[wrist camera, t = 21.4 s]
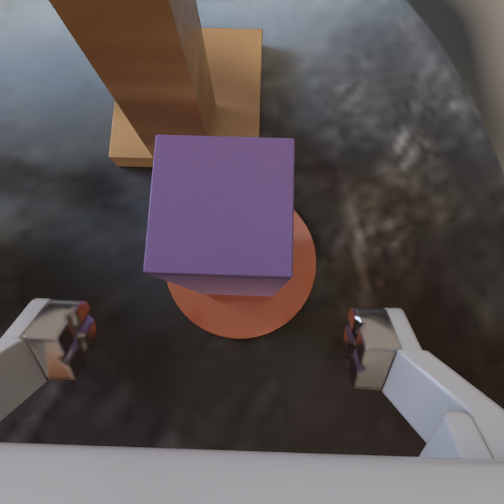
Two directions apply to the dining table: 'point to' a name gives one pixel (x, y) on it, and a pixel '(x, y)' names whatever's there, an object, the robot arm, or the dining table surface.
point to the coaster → (254, 298)
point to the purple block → (222, 214)
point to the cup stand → (167, 72)
